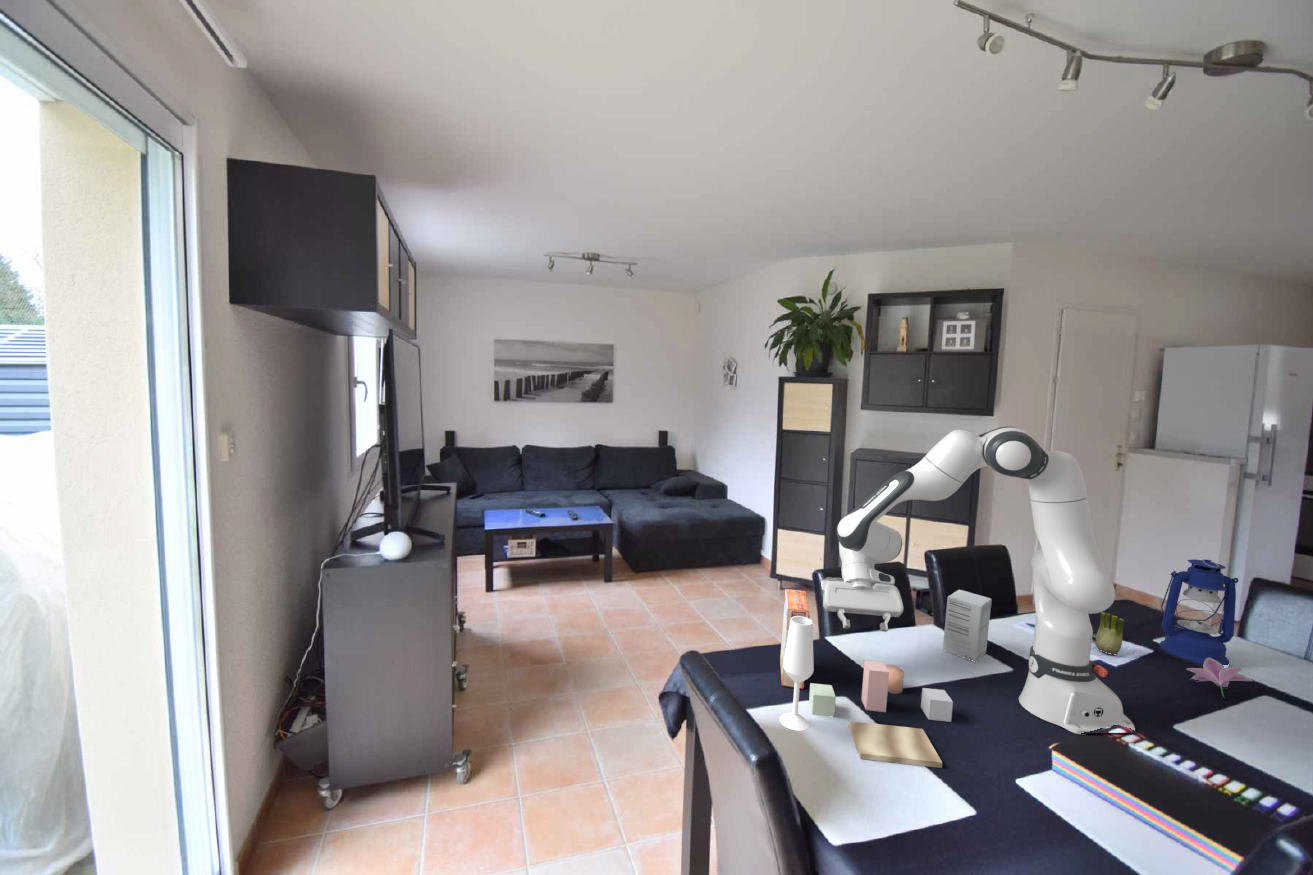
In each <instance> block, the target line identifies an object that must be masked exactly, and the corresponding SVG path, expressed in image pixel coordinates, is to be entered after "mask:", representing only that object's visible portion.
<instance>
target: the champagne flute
mask: <svg viewBox="0 0 1313 875" xmlns="http://www.w3.org/2000/svg"><path fill="white" fill-rule="evenodd" d="M813 629H814V626H813V620H812V619H811V618H810V617H809V618H806V617H802V616H794V617H792V618H791V620H790V626H789V632H788V638H787V644H786V650H785V656H784V662H783V667H784V670H785V672H786V673H787V675H788V676H789V677H790V678H791V679H792V680H793V681H795V684H794V687H793V700H792V712H785V713H783V714H781V715H780V716H779V722H780V724H782V725H783V727H785V728H787V729H789V730H792V731H798V732H799V731H802V732H803V731H806V730H807V729H809V728H810V721H809V720H808V718H806V717H805V716H804V715H802V714H799V700H800V689H801V688H800V682H803V681H804V682H805V681H806V680H808V679H809V678H810V677H811V676H812V675H813V674H814V668H815V667H814V666H815V665H814V663H815V662H814V638H813V637H814V630H813Z"/></svg>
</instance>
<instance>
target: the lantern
mask: <svg viewBox="0 0 1313 875" xmlns="http://www.w3.org/2000/svg"><path fill="white" fill-rule="evenodd" d="M1187 562H1189V564H1191V566H1189V567H1187V570H1186V571H1185V570H1183V571H1179V572H1177V571H1176V570H1173V571H1172V572H1171V573H1170V576H1171V577H1170V580H1169V583H1168V586H1167V589H1166V592H1165V595H1164V596H1163V600H1162V603H1161V605H1160V607H1161V612H1162V616H1163V617H1162V621H1161V624H1160V626H1161V629H1162V631H1163V632H1164V633H1165V636H1164V640H1161V641H1160V642H1159V646H1161V648H1162V649H1163V650H1165V651H1166V652H1168V653H1170V654H1172V655H1176V656H1178V657H1181V658H1183V659H1187V660H1190V661H1192V662H1195V663H1199V664H1204V661H1205V659H1206V658H1212V659H1214V660H1216V661H1217V662H1219V663H1220V664H1222V665H1228V664H1229V663H1230V662H1231V661H1230V659H1229V658H1228V657H1226V656H1227V655H1226V654H1227V647H1226V646H1227V645H1226V643H1228V642H1230V641H1231V640H1232V639H1233V637H1234V635H1235V620H1236V619H1235V618H1236V616H1235V615H1236V602H1237V601H1236V599H1237V590H1236V584H1238V583H1239V579H1238V578H1237V577H1233V578H1231V577H1229V576H1227V575H1224V574H1223V573H1222V570H1225V569H1227V567H1226V566H1225V565H1222V564H1220V563H1217V562H1215V561H1213V560H1210V559H1202V560H1201V559H1188V560H1187ZM1183 583H1184V584H1186V585H1187V589H1184V590H1183V592H1182V595H1183V596H1184V597H1186V598H1183V599H1180V600H1179V598H1180V594H1181V589H1182V587H1183ZM1219 592H1224V594H1223V597H1222V599H1221V597H1220V596H1218V595H1219ZM1166 598H1167V599H1166ZM1188 599H1190V600H1193V601H1197V602H1200V603H1202V604H1204V605H1206V606H1207V607H1209V609H1211V610H1212V611H1210V610H1208V612H1210V613H1213V614H1211V615H1210V616H1208V617H1207V618H1205V619H1190V620H1187V619H1180V617H1179V615H1178V614H1180V613H1183V612H1187V610H1184V611H1179V612H1178V610H1177V607H1178V605H1179V604H1180V602H1182V601H1185V600H1188ZM1165 600H1166V603H1165ZM1204 602H1205V603H1204ZM1164 603H1165V608H1164ZM1206 603H1210V604H1218V606H1217V608H1216V610H1214V609H1213V608H1212V607H1211V606H1209V605H1208V604H1206ZM1222 604H1223V614H1221V613H1219V612H1218V611H1219V609H1220V607H1221V605H1222ZM1163 608H1164V609H1163ZM1192 611H1194V612H1195V611H1196V612H1197V611H1199V612H1201V611H1202V612H1206V610H1205V609H1203V610H1202V609H1192V610H1191V609H1190V610H1189V612H1192ZM1215 615H1217V616H1218V617H1219V619H1221V620H1220V621H1218V622H1215V623H1213V624H1211V625H1209V624H1206V623H1203V622H1206V621H1208V620H1210V619H1211V618H1212V617H1213V616H1215ZM1174 619H1175V620H1176V625H1174V624H1173V621H1174ZM1216 624H1219V629H1217V628H1215V627H1213V626H1214V625H1216ZM1173 627H1175V628H1173ZM1217 634H1219V635H1218V636H1214V635H1217ZM1229 665H1230V664H1229Z"/></svg>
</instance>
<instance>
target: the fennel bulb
mask: <svg viewBox="0 0 1313 875" xmlns="http://www.w3.org/2000/svg"><path fill="white" fill-rule="evenodd" d="M1125 621H1126V620H1125V619H1122V618H1118V616H1116V615H1111V614H1110V613H1106V612H1104V611H1103V612H1100V621H1099V628H1098V630H1097V632H1096V636H1095V646H1096V648H1097V649H1098V650H1099V651H1100V650H1102V651H1104V652H1107V653H1111V654H1117V655H1118V653H1119V652H1120V651H1121V647H1122V644H1123V636H1124V635H1123V632H1124V624H1125Z"/></svg>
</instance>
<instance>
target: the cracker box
mask: <svg viewBox="0 0 1313 875" xmlns="http://www.w3.org/2000/svg"><path fill="white" fill-rule="evenodd" d="M784 590H785V591H784V604H783V606H784V607H783V616H782V618H783V619H782V629H781V630H782V631H781V645H780V656H779V657H780V658H779V662H780V663H779V664H780V678H781V680H780V682H781V686H783V687H788V688H794V684H795V681H793V680H792V679H791V678H790V677H789V676H788V675H787V673H786V672H785V670H784V667H783V662H784V656H785V650H786V644H787V638H788V632H789V626H790V620H791V618H792V617H794V616H802V617H806V618H809V619H810V617H811V616H810V615H811V609H810V604H809V600H808V595H807V591H805V590H801V589H798V590H797V589H789V588H785V589H784ZM804 688H805V680H804V681H803V682H800V689H801V690H802V689H803V690H804Z"/></svg>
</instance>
